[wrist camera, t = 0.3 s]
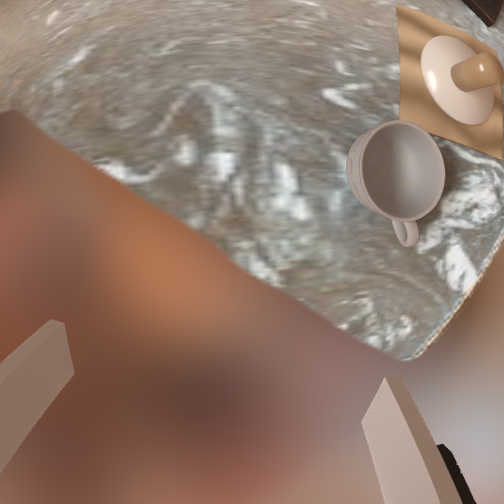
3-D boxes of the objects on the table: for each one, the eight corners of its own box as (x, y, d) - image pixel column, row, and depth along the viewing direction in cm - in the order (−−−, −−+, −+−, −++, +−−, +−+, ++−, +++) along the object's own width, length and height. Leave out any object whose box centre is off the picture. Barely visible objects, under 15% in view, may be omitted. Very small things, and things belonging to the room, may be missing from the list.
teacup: (337, 126, 33) (356, 115, 25) (413, 131, 32) (445, 125, 24) (340, 237, 36) (359, 255, 29) (414, 234, 36) (444, 250, 28)
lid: (416, 24, 27) (444, 2, 19) (486, 58, 27) (518, 46, 18) (420, 109, 31) (455, 98, 22) (491, 136, 30) (527, 135, 22)
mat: (395, 4, 26) (396, 3, 26) (494, 51, 26) (496, 50, 26) (399, 124, 32) (400, 124, 32) (500, 159, 32) (501, 160, 31)
